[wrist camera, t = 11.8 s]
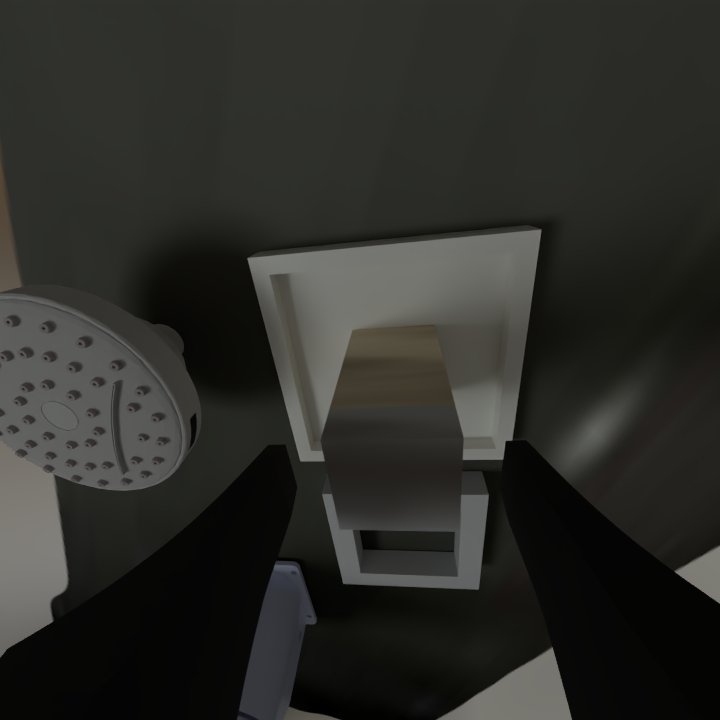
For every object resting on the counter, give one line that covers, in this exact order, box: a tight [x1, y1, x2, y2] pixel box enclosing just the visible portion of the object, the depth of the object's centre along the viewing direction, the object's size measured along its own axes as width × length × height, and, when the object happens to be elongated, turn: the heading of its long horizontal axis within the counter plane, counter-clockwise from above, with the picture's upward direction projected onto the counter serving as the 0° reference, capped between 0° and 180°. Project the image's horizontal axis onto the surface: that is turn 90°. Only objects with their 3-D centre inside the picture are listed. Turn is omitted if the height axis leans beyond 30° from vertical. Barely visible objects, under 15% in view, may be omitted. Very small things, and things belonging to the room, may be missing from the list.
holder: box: [322, 471, 489, 590], centre depth 23 cm, size 10×10×2 cm
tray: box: [247, 225, 541, 461], centre depth 17 cm, size 12×12×2 cm
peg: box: [320, 325, 464, 532], centre depth 14 cm, size 4×4×8 cm
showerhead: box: [0, 285, 201, 490], centre depth 15 cm, size 9×7×10 cm
